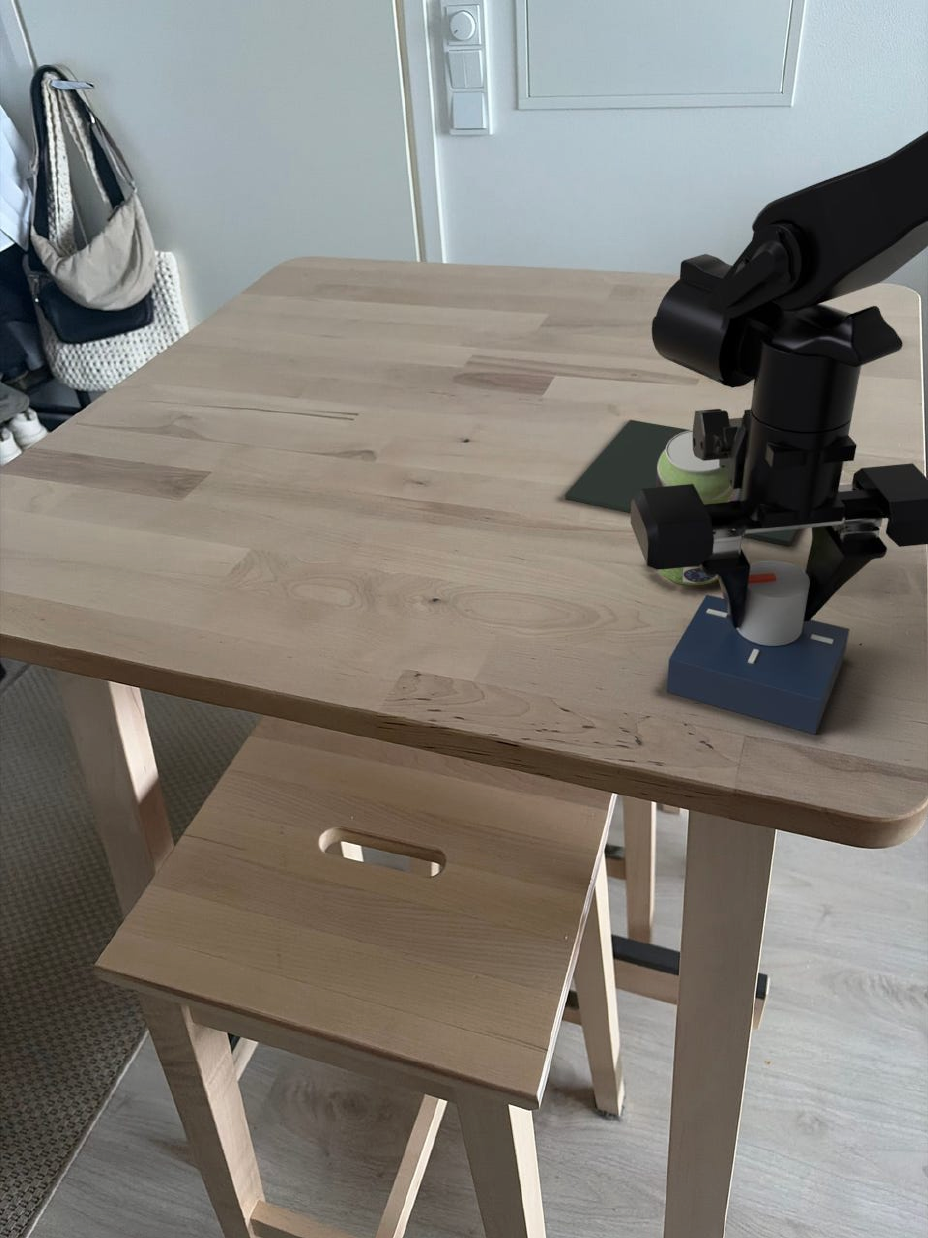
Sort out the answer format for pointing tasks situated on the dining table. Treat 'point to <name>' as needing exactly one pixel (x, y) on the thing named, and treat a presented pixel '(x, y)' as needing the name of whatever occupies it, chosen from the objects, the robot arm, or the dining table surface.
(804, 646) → the rotary dial base
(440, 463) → the dining table surface
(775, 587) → the grey rotary knob
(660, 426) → the drip mat
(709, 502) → the beverage can
